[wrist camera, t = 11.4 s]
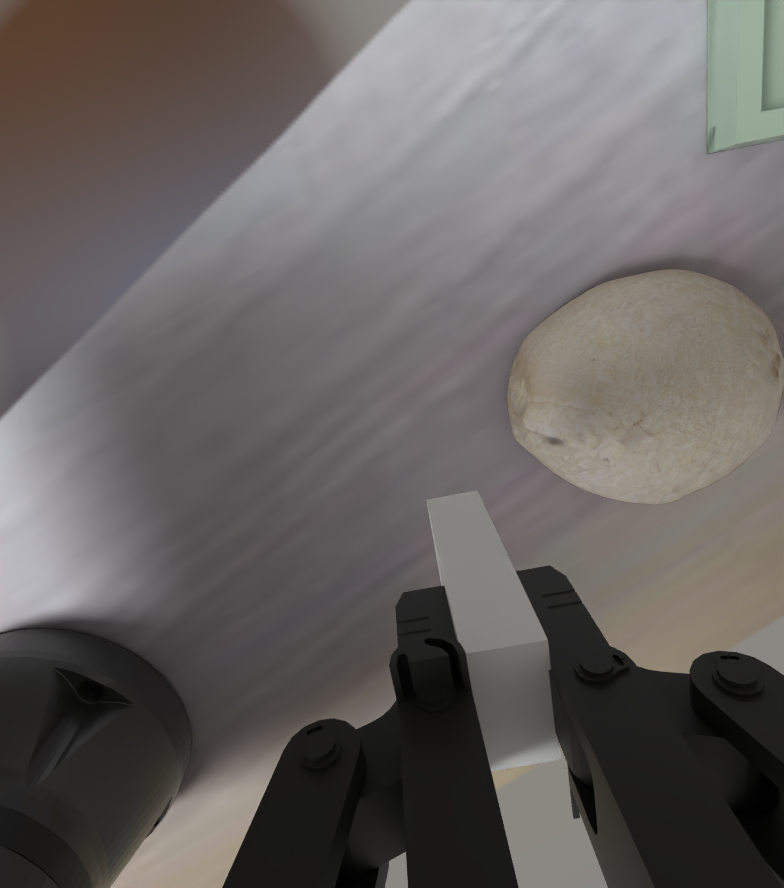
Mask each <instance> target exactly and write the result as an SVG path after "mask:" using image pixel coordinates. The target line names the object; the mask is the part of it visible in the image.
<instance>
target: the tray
mask: <svg viewBox="0 0 784 888" xmlns="http://www.w3.org/2000/svg"><path fill="white" fill-rule="evenodd" d="M783 139H784V0H708V39H707V154H710V153H715V152H720V151H726V150H731V149H736V148H741V147H746V146H752V145H757V144H762V143H767V142H772V141H778V140H783Z"/></svg>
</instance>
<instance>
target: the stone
mask: <svg viewBox="0 0 784 888" xmlns="http://www.w3.org/2000/svg"><path fill="white" fill-rule="evenodd" d="M783 389H784V357H783V355H782V352H781V350H780V346H779V342H778V338H777V334H776V331H775V328H774V326H773V323H772V322H771V320H770V319H769V317H768V316H767V315H766V313H765V312H764V311H763V310H762V308H761V307H759V306H758V305H757V304H756V303H754V302H753V301H752V300H751V299H750V298H748V297H747V296H746V295H745V294H744V293H742V292H741V291H740V290H738V289H737V288H735V287H734V286H732V285H730V284H728V283H725V282H723V281H721V280H719V279H716V278H713V277H711V276H708V275H704V274H701V273H698V272H693V271H690V270H675V269H666V270H658V271H652V272H647V273H641V274H637V275H633V276H628V277H623V278H618V279H615V280H611V281H607V282H604V283H602V284H600V285H598V286H596V287H594V288H592V289H590V290H588V291H586V292H585V293H583V294H582V295H580V296H578V297H577V298H575V299H573V300H572V301H570V302H568V303H567V304H565V305H564V306H563V307H561V308H560V309H559V310H557V311H556V312H554V313H553V314H552V315H550V316H549V317H548V318H546V319H545V320H544V321H543V322H542V323H541V324H539V325H538V326H537V327H536V328H535V329H534V330H532V331H531V332H530V333H529V334H528V335H527V337H526V338H525V339H524V341H523V342H522V343H521V346H520V348H519V350H518V352H517V355H516V357H515V360H514V362H513V365H512V368H511V371H510V376H509V386H508V392H507V405H508V412H509V418H510V423H511V427H512V432H513V436H514V438H515V439H516V441H517V442H518V443H519V444H520V445H522V446H523V447H524V448H525V449H526V450H527V451H528V452H530V453H531V454H532V455H533V456H534V457H536V458H537V459H538V460H539V461H540V462H541V463H542V464H544V465H545V466H546V467H547V468H549V469H550V470H551V471H553V472H554V473H556V474H557V475H559V476H560V477H561V478H563V479H564V480H566V481H568V482H569V483H571V484H573V485H575V486H577V487H579V488H581V489H583V490H585V491H588V492H591V493H594V494H598V495H601V496H603V497H606V498H611V499H615V500H619V501H625V502H634V503H647V504H662V503H668V502H673V501H676V500H678V499H680V498H682V497H683V496H685V495H687V494H688V493H691V492H694V491H697V490H699V489H702V488H704V487H706V486H708V485H710V484H712V483H713V482H715V481H717V480H719V479H721V478H722V477H724V476H726V475H728V474H729V473H731V472H732V471H733V470H735V469H736V468H738V467H739V466H740V465H741V464H743V463H744V462H745V461H746V460H747V459H748V458H749V457H750V456H751V455H752V454H753V453H754V452H755V451H756V450H757V449H758V448H759V447H760V446H762V445H763V443H764V442H765V441H766V439H767V438H768V436H769V435H770V433H771V432H772V430H773V427H774V425H775V422H776V418H777V414H778V410H779V406H780V401H781V397H782V393H783Z"/></svg>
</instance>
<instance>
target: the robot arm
mask: <svg viewBox="0 0 784 888" xmlns="http://www.w3.org/2000/svg"><path fill="white" fill-rule="evenodd" d="M426 501H427V507H428V512H429V518H430V524H431V529H432V535H433V541H434V547H435V552H436V558H437V564H438V569H439V575H440V581H441V585H442V586H438V587H432V588H427V589H421V590H415V591H409V592H404V593H403V594H402V596H401V598H400V600H399V602H398V603H397V605H396V621H397V635H398V648H397V649H396V650H395V651H394V653H393V654H392V656H391V660H390V664H389V667H390V671H391V676H392V680H393V685H394V689H395V694H396V698H397V700H396V702H395V703H394V704H393V706H392V707H391V708H390V710H388V711H387V712H386V713H385V714H384V715H383V716H382V717H380V718H378V719H377V720H375V721H373V722H371V723H369V724H367V725H365V726H363V727H361V728H358V729H355V728H354V727H353V726H351V725H350V724H349V723H347V722H346V721H342V720H338V719H326V720H319V721H316V722H314V723H312V724H310V725H308V726H305V727H304V728H303V729H301V730H300V731H299V732H298V733H297V734H295V735H294V736H293V737H292V738H291V740H290V741H289V743H288V744H287V746H286V747H285V749H284V751H283V753H282V755H281V757H280V760H279V762H278V764H277V766H276V769H275V771H274V773H273V775H272V778H271V780H270V782H269V784H268V786H267V789H266V791H265V793H264V795H263V798H262V800H261V802H260V804H259V807H258V809H257V811H256V813H255V816H254V818H253V820H252V822H251V825H250V827H249V829H248V831H247V834H246V836H245V838H244V840H243V842H242V845H241V847H240V849H239V851H238V854H237V856H236V858H235V860H234V863H233V865H232V867H231V869H230V872H229V874H228V876H227V878H226V881H225V883H224V885H223V887H222V888H385V883H386V878H387V873H388V868H389V861H390V860H391V859H393V858H395V857H397V856H399V855H400V854H402V853H404V852H406V856H407V857H406V858H407V875H408V888H518V884H517V879H516V875H515V871H514V867H513V863H512V858H511V854H510V850H509V846H508V841H507V837H506V833H505V829H504V824H503V820H502V816H501V812H500V807H499V803H498V799H497V795H496V791H495V786H494V782H493V778H492V774H491V771H496V770H502V769H508V768H514V767H520V766H526V765H533V764H539V763H545V762H550V761H557V760H560V759H561V758H560V749H559V743H560V745H561V748H562V751H563V753H564V756H565V758H566V761H567V765H568V775H569V785H570V793H571V794H570V795H571V803H572V811H573V817H574V819H575V818H580V815H579V812H580V814H581V817H582V819H583V822H584V825H585V827H586V830H587V833H588V835H589V838H590V840H591V843H592V846H593V848H594V851H595V854H596V856H597V859H598V862H599V865H600V867H601V870H602V873H603V875H604V878H605V880H606V883H607V886H608V888H784V675H782V674H781V673H779V672H778V671H776V670H775V669H774V668H772V667H771V666H769V665H767V664H765V663H764V662H761V661H760V660H758V659H756V658H754V657H751V656H747V655H744V654H741V653H737V652H727V651H715V652H710V653H706V654H703V655H701V656H700V657H698V658H697V659H695V660H694V661H693V663H692V666H691V668H690V674H684V673H671V672H660V671H653V670H647V669H644V668H641V667H638V666H636V664H635V663H634V662H633V661H632V660H631V659H630V658H629V657H628V656H627V655H626V654H625V653H623V652H621V651H619V650H617V649H615V648H613V647H611V646H609V644H608V642H607V641H606V639H605V638H604V636H603V634H602V633H601V631H600V630H599V628H598V626H597V625H596V623H595V622H594V620H593V619H592V617H591V615H590V614H589V612H588V611H587V609H586V607H585V606H584V604H582V601H581V599H580V598H579V596H578V595H577V593H576V592H575V590H574V588H573V587H572V585H571V583H570V582H569V580H568V579H567V577H566V576H565V575H564V574H562V573H560V572H559V571H557V570H556V569H554V568H553V567H551V566H544V567H538V568H533V569H527V570H521V571H515V569H514V567H513V565H512V563H511V560H510V558H509V556H508V554H507V552H506V550H505V548H504V546H503V543H502V541H501V539H500V537H499V535H498V533H497V531H496V529H495V526H494V524H493V522H492V520H491V518H490V516H489V514H488V512H487V509H486V507H485V505H484V503H483V501H482V499H481V497H480V495H479V492H478V490H476V491H470V492H465V493H459V494H454V495H448V496H443V497H437V498H431V499H426ZM191 745H192V740H191V729H190V725H189V720H188V717H187V714H186V712H185V710H184V707H183V705H182V703H181V701H180V699H179V698H178V696H177V695H176V693H175V692H174V690H173V689H172V688H171V686H170V685H169V684H168V683H167V682H166V680H165V679H164V678H163V677H162V676H161V675H160V674H159V673H158V672H157V671H156V670H154V669H153V668H152V667H151V666H150V665H148V664H147V663H146V662H144V661H143V660H142V659H140V658H139V657H137V656H136V655H134V654H132V653H131V652H129V651H127V650H125V649H123V648H121V647H119V646H117V645H115V644H113V643H110V642H108V641H106V640H103V639H100V638H97V637H94V636H90V635H87V634H82V633H78V632H73V631H66V630H57V629H28V630H19V631H13V632H8V633H4V634H0V888H110V886H111V885H112V884H113V882H114V881H115V880H116V878H117V877H118V876H119V874H120V873H121V871H122V870H123V869H124V867H125V866H126V865H127V863H128V862H129V860H130V859H131V858H132V856H133V855H134V853H135V852H136V851H137V849H138V848H139V846H140V845H141V844H142V842H143V841H144V839H145V838H147V837H148V836H149V835H150V834H151V833H152V832H153V831H154V830H155V828H156V827H157V826H158V825H159V824H160V822H161V821H162V820H163V818H164V817H165V816H166V814H167V813H168V811H169V809H170V808H171V806H172V804H173V802H174V800H175V798H176V795H177V793H178V790H179V787H180V785H181V782H182V779H183V777H184V774H185V771H186V769H187V766H188V763H189V759H190V754H191Z"/></svg>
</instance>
